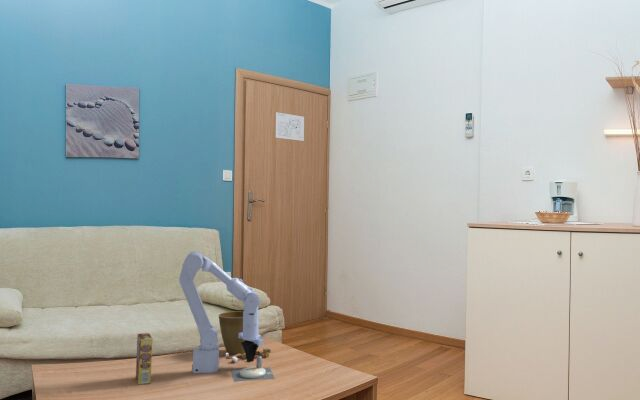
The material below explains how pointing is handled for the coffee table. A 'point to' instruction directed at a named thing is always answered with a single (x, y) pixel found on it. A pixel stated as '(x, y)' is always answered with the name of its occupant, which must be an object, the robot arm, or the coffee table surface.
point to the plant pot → (232, 331)
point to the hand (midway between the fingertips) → (250, 361)
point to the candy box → (144, 358)
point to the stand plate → (238, 378)
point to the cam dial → (254, 370)
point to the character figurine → (243, 357)
